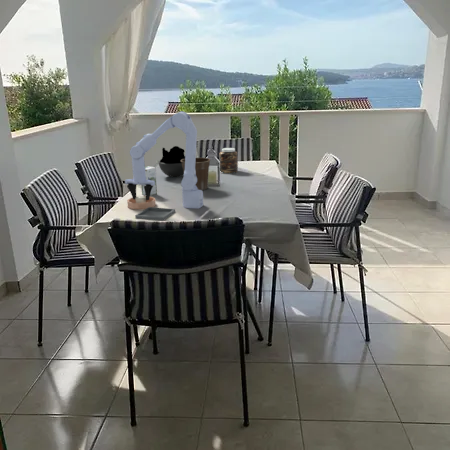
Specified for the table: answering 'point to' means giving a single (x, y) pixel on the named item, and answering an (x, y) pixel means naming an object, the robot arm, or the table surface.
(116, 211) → the table surface
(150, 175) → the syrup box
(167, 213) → the tray
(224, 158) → the jar
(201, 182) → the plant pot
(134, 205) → the bowl
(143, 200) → the cream cup
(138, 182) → the robot arm
